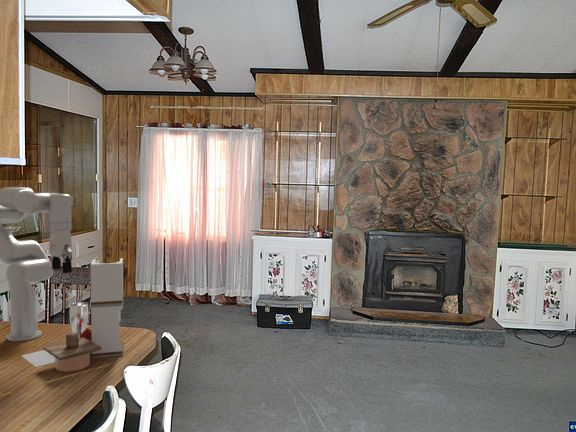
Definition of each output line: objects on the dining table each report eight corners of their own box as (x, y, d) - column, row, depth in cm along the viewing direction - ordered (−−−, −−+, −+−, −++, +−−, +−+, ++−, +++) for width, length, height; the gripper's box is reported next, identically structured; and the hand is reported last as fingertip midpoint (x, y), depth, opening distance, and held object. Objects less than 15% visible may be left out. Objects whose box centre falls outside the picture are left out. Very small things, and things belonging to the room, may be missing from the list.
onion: (97, 344, 186) (97, 324, 186) (94, 349, 181) (93, 329, 180) (82, 345, 185) (81, 325, 185) (78, 350, 180) (77, 329, 179)
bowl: (50, 366, 164) (50, 349, 163) (81, 358, 172) (81, 342, 171) (63, 375, 157) (63, 358, 156) (95, 366, 164) (94, 349, 164)
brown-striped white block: (122, 356, 174) (121, 263, 172) (92, 359, 171) (90, 264, 168) (123, 346, 185) (122, 258, 183) (94, 348, 182) (93, 259, 179)
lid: (43, 349, 163) (43, 334, 163) (83, 340, 174) (83, 325, 173) (60, 360, 154) (59, 344, 154) (101, 349, 164) (101, 334, 164)
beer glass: (81, 344, 187) (81, 307, 185) (66, 342, 188) (65, 305, 187) (92, 338, 193) (91, 302, 192) (77, 337, 195) (76, 301, 194)
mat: (20, 356, 172) (20, 355, 172) (62, 346, 183) (62, 345, 183) (36, 368, 162) (36, 367, 162) (79, 356, 173) (79, 355, 173)
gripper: (41, 225, 182) (42, 268, 183) (59, 228, 170) (60, 275, 171) (61, 224, 187) (62, 266, 188) (80, 227, 175) (81, 272, 177)
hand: (61, 270), depth 180 cm, fingers open, 9 cm apart
